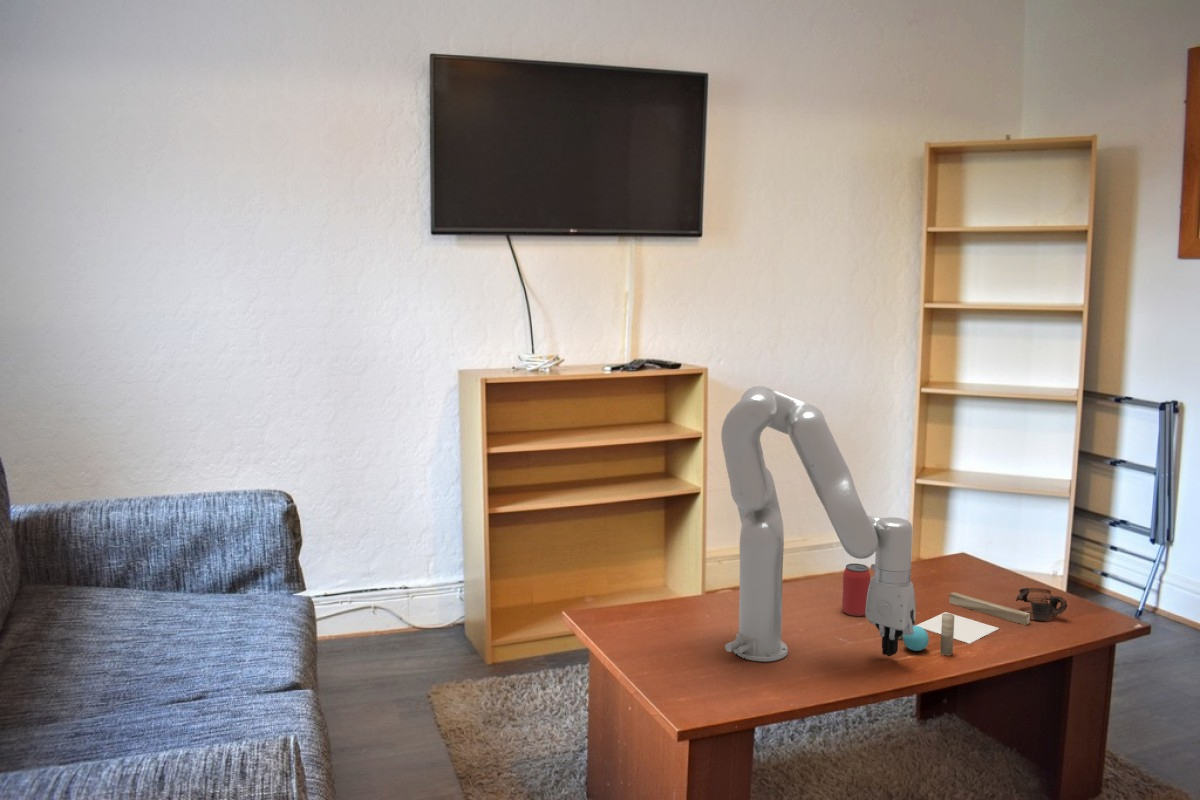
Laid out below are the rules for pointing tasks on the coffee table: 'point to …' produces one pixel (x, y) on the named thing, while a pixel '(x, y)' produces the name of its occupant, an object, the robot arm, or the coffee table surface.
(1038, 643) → the coffee table surface
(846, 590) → the beer can
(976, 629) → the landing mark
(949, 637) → the post right
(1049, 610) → the pottery mug
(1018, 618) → the rail
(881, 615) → the robot arm
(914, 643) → the ball
